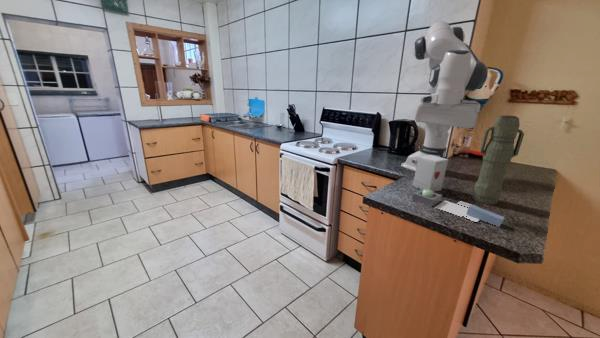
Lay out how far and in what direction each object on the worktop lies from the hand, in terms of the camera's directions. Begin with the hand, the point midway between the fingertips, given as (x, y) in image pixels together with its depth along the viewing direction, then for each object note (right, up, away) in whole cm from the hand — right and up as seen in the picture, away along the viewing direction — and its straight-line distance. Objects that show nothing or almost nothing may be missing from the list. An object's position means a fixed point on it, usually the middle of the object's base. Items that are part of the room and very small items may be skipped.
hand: (439, 137), depth 92 cm
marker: (+9, -27, -2) cm, 29 cm away
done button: (-1, -25, +8) cm, 26 cm away
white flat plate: (+8, -28, +1) cm, 29 cm away
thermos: (+25, -26, +11) cm, 37 cm away
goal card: (+14, -27, +5) cm, 31 cm away
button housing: (-1, -25, +9) cm, 27 cm away
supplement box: (+6, -21, +22) cm, 31 cm away
